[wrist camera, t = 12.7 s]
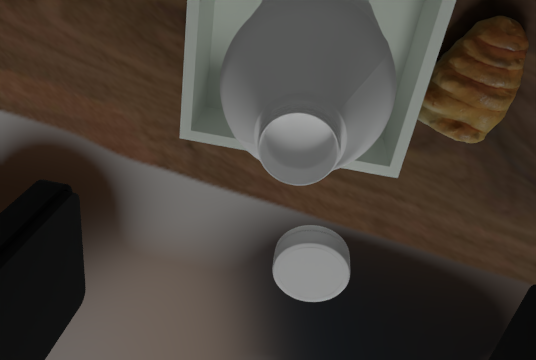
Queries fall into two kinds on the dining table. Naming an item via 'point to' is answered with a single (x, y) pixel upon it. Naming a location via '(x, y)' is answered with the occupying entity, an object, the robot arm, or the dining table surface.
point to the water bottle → (308, 114)
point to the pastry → (476, 80)
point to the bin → (393, 28)
